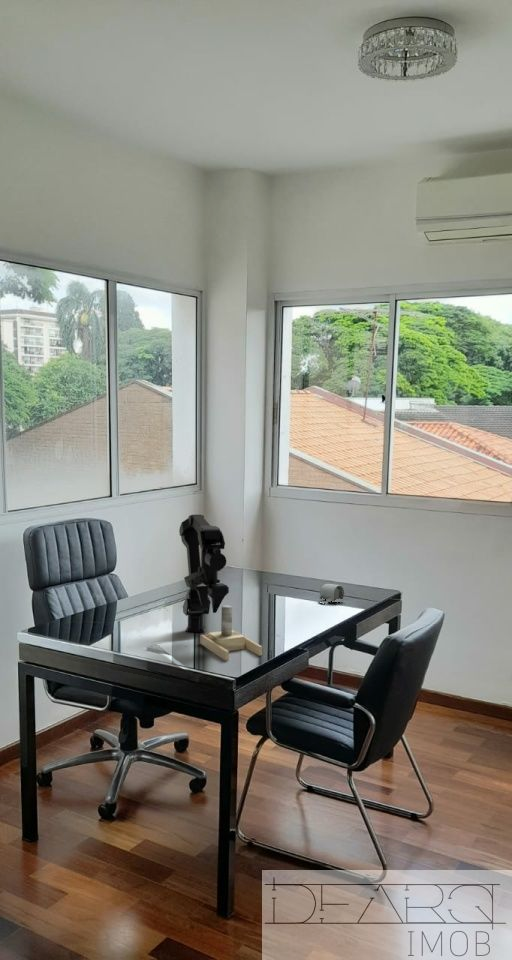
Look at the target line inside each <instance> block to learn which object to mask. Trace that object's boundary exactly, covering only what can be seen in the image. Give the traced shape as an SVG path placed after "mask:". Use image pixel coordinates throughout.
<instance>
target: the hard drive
mask: <svg viewBox="0 0 512 960" xmlns="http://www.w3.org/2000/svg"><path fill="white" fill-rule="evenodd" d="M167 643H168V641H167V642H166V641H158V642H156V643H154V644H151V645H149V646H147V647H146V650H147V651H150V652H154V653H158V654H163V655H168V656H170V657H171V656H172V654H171V653H169V652H168V651H166V650H165V649H164V648H162V647H161V646H160V645H162V644H167Z"/></svg>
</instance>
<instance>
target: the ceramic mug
mask: <svg viewBox="0 0 512 960" xmlns="http://www.w3.org/2000/svg"><path fill="white" fill-rule="evenodd" d="M319 591H320V592H319V597H318V602H319V601H322V602H330V603H332V602H331V601H334V602H335V600H336V599H339V598H340V599H343V600H344V598H345V589H344V587H343V586H342V585H341V584H332V583H324V584H323V585H322V586H321V588H320V589H319ZM322 598H323V599H327V600H326V601H325V600H323V599H322ZM320 599H321V600H320Z"/></svg>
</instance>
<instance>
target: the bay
mask: <svg viewBox="0 0 512 960" xmlns="http://www.w3.org/2000/svg"><path fill="white" fill-rule="evenodd" d="M234 631H235V632H237V633H239V634H241V633H240V632H238V631H236V630H234ZM241 635H242V636H244V637H245V644H244V648H246V649H247V650H249V651H251V652H252V653H254V654H256V655H258V656H259V657H260V656H263V646H262V645H260V643H257V642H255V641H253V640H252V639H250V638H248V637H247V636H245V635H243V634H241ZM199 642H200V645H202V646H203V647H204V648H206V649H207V650H209V651H211V653H213V654H215V655H217V656H218V657H219V658H220V659H222V660H224V661H230V651H228V650H226V649H225V648H223V647H221V646H220V645H218V644H217V643H215V642H214V641H212V640H210V639H209V638H208V634H200V641H199Z"/></svg>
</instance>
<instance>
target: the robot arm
mask: <svg viewBox="0 0 512 960" xmlns="http://www.w3.org/2000/svg"><path fill="white" fill-rule="evenodd" d="M178 530H179V536H180V538H181V542H182V544H183V545H184V547H185V548H186V555H187V556H186V557H187V569H188V575H187V576H184V578H183V579H184V583H185V585H186V587H188V590H187V592H186V595H185V599H184V602H183V605H182V613H183V614H184V615H185V616H187V626H186V629H185V632H186V633H204V632H205V630H206V626H205V625H204V621H205V620H204V619H205V618H204V617H205V615H209V613H210V609H211V608H212V613H213V614H217V612H218V610H219V608H220V606H221V605H222V602H223V600H224V599H225V597H226V596H227V595H228V594H229V593H230V588H229V586H228V585H227V584H224V583H221V580H220V579H219V578H218V577H219V572H221V570H223V569H224V568H225V567H226V565H227V557H226V556H225V555H224V554H223V553H222V550H224V549H225V546H226V542H225V541H226V540H225V538H224V534H223V533H222V530H221V529H220V527H218V526H216V525H211V524H210V523H209V522H208V521H207V520H206V518H205V516H204V515H203V514H191V515H189V516H188V517H187V518H186V519H185V520H183V521H182V522H181V523H180V526H179V529H178ZM200 551H201V552H200ZM210 607H211V608H210Z"/></svg>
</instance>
